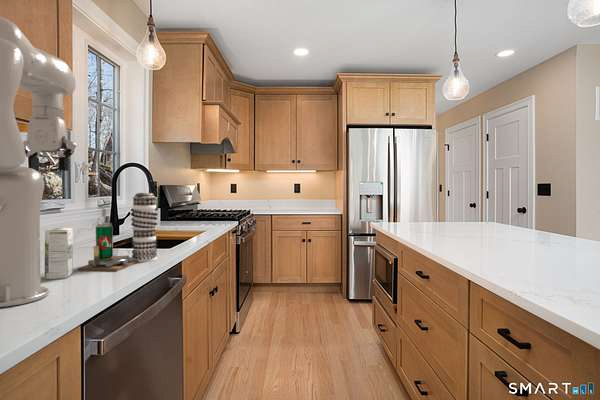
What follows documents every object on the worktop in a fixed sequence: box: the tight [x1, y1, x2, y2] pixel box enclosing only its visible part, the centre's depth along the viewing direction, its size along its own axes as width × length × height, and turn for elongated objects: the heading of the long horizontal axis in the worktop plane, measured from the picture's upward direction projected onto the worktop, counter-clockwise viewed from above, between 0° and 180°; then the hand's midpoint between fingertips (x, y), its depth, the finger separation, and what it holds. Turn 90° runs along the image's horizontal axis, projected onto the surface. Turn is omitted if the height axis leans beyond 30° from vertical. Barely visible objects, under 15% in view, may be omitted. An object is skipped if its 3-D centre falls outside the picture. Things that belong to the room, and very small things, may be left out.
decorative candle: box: [130, 192, 159, 263], centre depth 124 cm, size 9×9×25 cm
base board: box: [76, 260, 139, 272], centre depth 113 cm, size 13×13×1 cm
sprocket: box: [87, 245, 133, 267], centre depth 114 cm, size 13×13×6 cm
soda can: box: [95, 222, 114, 259], centre depth 114 cm, size 5×5×12 cm
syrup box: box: [44, 227, 74, 281], centre depth 99 cm, size 6×6×14 cm
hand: (48, 170), depth 103 cm, fingers open, 9 cm apart
